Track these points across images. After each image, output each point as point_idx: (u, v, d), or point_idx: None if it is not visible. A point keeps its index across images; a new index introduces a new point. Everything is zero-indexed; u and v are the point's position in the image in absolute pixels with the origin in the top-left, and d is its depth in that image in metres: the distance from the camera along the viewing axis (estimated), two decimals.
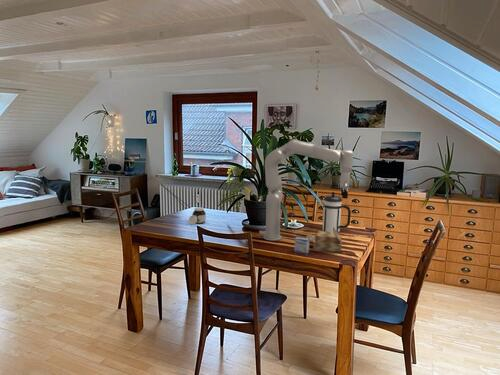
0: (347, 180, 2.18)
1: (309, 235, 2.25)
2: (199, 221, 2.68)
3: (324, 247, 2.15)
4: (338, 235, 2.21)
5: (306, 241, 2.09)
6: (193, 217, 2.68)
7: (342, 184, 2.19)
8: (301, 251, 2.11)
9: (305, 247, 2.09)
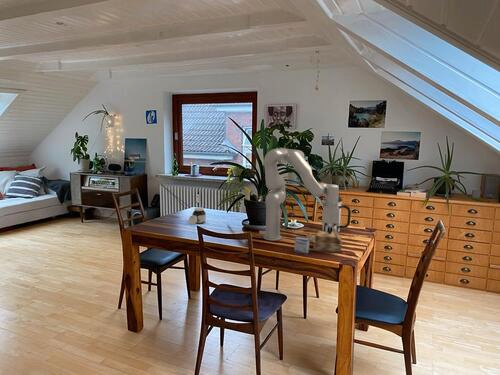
0: None
1: (309, 235, 2.25)
2: (199, 221, 2.68)
3: (324, 247, 2.15)
4: (338, 235, 2.21)
5: (306, 241, 2.09)
6: (193, 217, 2.68)
7: None
8: (301, 251, 2.11)
9: (305, 247, 2.09)
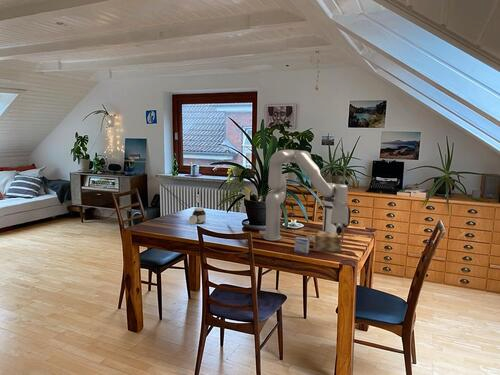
0: None
1: (309, 235, 2.25)
2: (199, 221, 2.68)
3: (324, 247, 2.15)
4: None
5: (306, 241, 2.09)
6: (193, 217, 2.68)
7: None
8: (301, 251, 2.11)
9: (305, 247, 2.09)
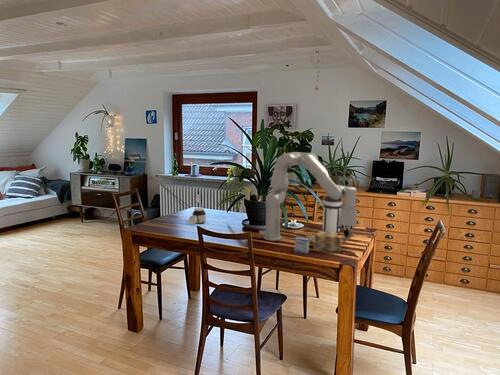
0: None
1: (309, 235, 2.25)
2: (199, 221, 2.68)
3: (324, 247, 2.15)
4: None
5: (306, 241, 2.09)
6: (193, 217, 2.68)
7: (355, 222, 2.14)
8: (301, 251, 2.11)
9: (305, 247, 2.09)
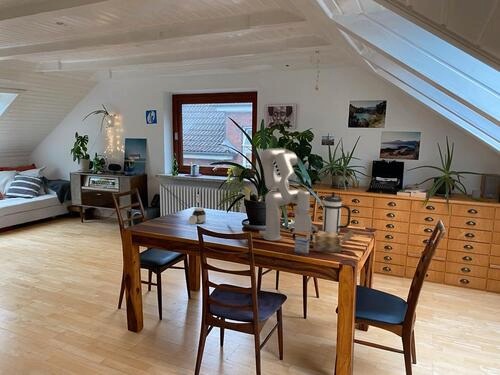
0: (311, 221, 2.08)
1: (309, 235, 2.25)
2: (199, 221, 2.68)
3: (324, 247, 2.15)
4: (346, 236, 2.20)
5: (306, 242, 2.08)
6: (193, 217, 2.68)
7: (311, 227, 2.06)
8: (301, 251, 2.11)
9: (305, 248, 2.09)
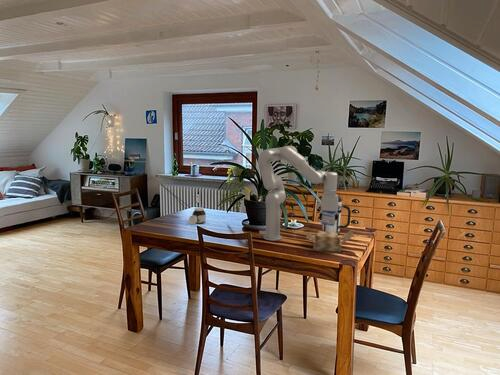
0: None
1: (309, 235, 2.25)
2: (199, 221, 2.68)
3: (324, 247, 2.15)
4: (346, 236, 2.20)
5: (333, 213, 2.16)
6: (193, 217, 2.68)
7: (337, 207, 2.15)
8: (328, 223, 2.18)
9: (332, 219, 2.16)
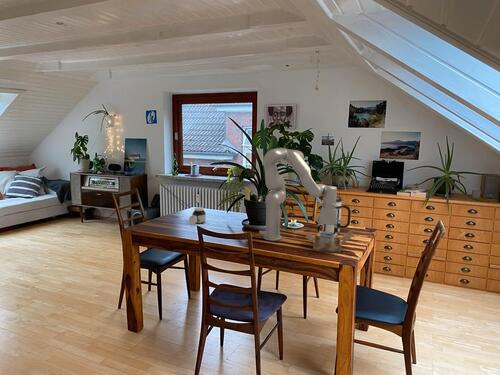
0: None
1: (309, 235, 2.25)
2: (199, 221, 2.68)
3: (324, 247, 2.15)
4: (346, 236, 2.20)
5: (331, 235, 2.18)
6: (193, 217, 2.68)
7: None
8: None
9: (330, 241, 2.19)
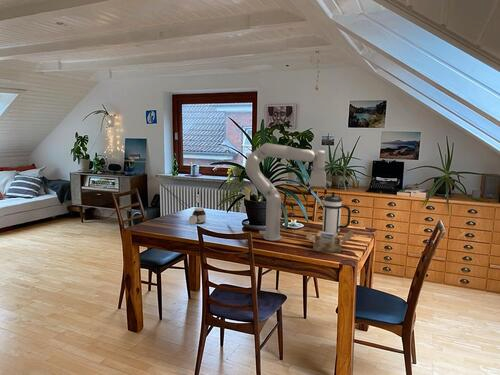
0: None
1: (309, 235, 2.25)
2: (199, 221, 2.68)
3: (324, 247, 2.15)
4: (346, 236, 2.20)
5: (332, 236, 2.18)
6: (193, 217, 2.68)
7: (325, 182, 2.30)
8: None
9: (331, 241, 2.19)
